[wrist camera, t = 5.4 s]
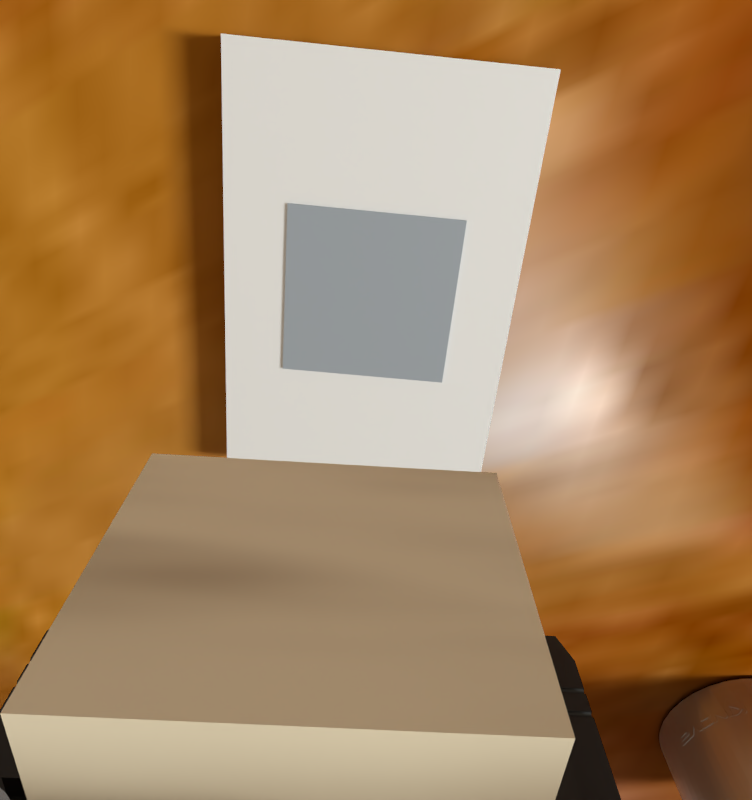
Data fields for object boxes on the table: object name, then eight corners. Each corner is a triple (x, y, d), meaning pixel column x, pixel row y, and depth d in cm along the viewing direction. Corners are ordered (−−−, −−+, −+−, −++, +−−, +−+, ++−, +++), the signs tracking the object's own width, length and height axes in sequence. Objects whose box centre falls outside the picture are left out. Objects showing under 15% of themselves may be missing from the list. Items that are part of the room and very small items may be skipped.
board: (474, 475, 32) (477, 490, 30) (232, 455, 31) (226, 469, 30) (552, 70, 24) (561, 69, 22) (228, 35, 23) (220, 33, 22)
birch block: (454, 701, 14) (490, 996, 9) (178, 688, 14) (84, 982, 9) (496, 472, 11) (575, 737, 7) (151, 453, 11) (0, 713, 7)
